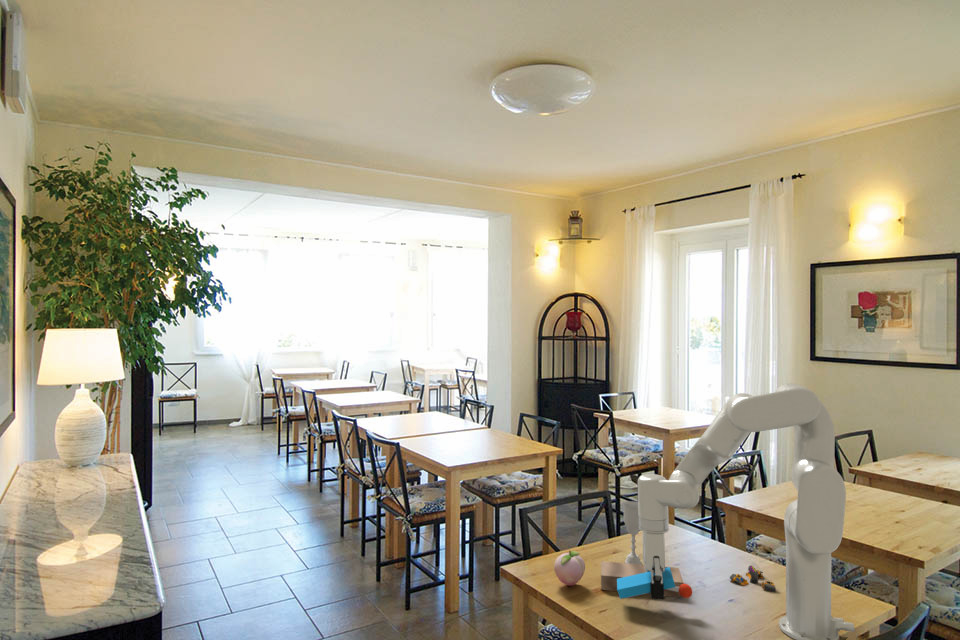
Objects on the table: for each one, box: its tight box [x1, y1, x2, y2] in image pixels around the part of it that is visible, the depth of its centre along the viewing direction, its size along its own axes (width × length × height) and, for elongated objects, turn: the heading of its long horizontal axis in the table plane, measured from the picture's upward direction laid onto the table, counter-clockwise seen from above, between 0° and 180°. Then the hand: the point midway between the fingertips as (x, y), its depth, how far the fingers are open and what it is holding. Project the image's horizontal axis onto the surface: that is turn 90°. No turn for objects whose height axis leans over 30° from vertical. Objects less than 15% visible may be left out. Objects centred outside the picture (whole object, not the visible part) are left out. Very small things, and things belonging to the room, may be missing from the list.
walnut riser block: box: [600, 560, 685, 598], centre depth 164 cm, size 22×10×4 cm, turn 78°
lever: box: [616, 566, 693, 600], centre depth 150 cm, size 7×7×18 cm
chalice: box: [621, 500, 643, 565], centre depth 180 cm, size 7×7×18 cm
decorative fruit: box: [553, 550, 586, 587], centre depth 164 cm, size 9×8×10 cm
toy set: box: [729, 565, 777, 593], centre depth 165 cm, size 12×11×5 cm
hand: (655, 591), depth 150 cm, fingers closed on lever, 7 cm apart
